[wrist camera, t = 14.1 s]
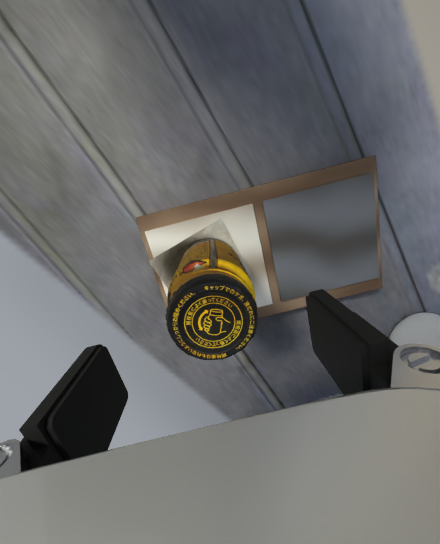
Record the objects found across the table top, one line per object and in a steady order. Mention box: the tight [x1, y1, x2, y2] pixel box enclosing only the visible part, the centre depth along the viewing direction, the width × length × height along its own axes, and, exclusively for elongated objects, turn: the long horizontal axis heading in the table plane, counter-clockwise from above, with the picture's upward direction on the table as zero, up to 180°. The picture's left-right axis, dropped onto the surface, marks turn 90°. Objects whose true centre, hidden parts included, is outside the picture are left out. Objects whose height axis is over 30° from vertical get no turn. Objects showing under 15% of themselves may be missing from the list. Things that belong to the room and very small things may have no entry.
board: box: [136, 155, 382, 318], centre depth 25 cm, size 14×24×2 cm, turn 104°
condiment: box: [148, 219, 258, 360], centre depth 19 cm, size 7×8×12 cm
